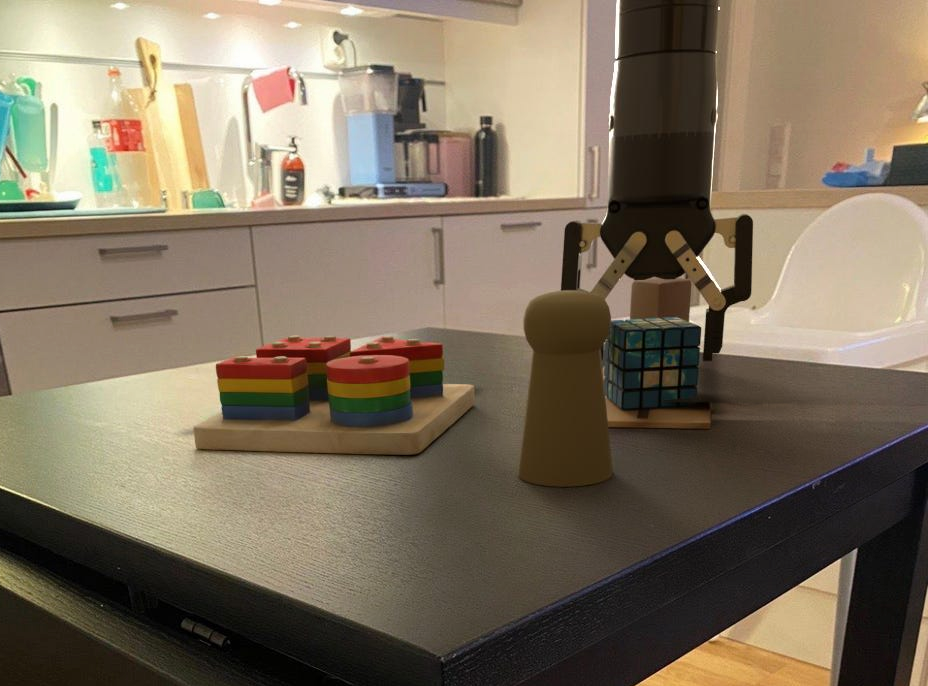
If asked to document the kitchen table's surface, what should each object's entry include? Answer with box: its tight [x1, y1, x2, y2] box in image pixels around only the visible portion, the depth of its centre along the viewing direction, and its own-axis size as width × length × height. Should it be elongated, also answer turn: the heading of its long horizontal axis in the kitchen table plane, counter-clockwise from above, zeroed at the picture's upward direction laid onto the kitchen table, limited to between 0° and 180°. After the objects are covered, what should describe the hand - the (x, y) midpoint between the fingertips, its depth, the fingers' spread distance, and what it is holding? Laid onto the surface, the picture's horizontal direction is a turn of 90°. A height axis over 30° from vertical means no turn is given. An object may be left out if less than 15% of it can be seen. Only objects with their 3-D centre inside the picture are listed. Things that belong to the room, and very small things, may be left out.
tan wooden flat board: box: [602, 366, 712, 430], centre depth 85 cm, size 10×28×1 cm, turn 166°
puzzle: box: [603, 317, 702, 410], centre depth 77 cm, size 6×6×6 cm
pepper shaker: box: [517, 290, 614, 488], centre depth 60 cm, size 6×6×11 cm
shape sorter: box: [193, 335, 476, 456], centre depth 76 cm, size 18×17×6 cm
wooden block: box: [629, 277, 693, 322], centre depth 89 cm, size 4×4×8 cm
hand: (651, 360), depth 77 cm, fingers open, 8 cm apart
